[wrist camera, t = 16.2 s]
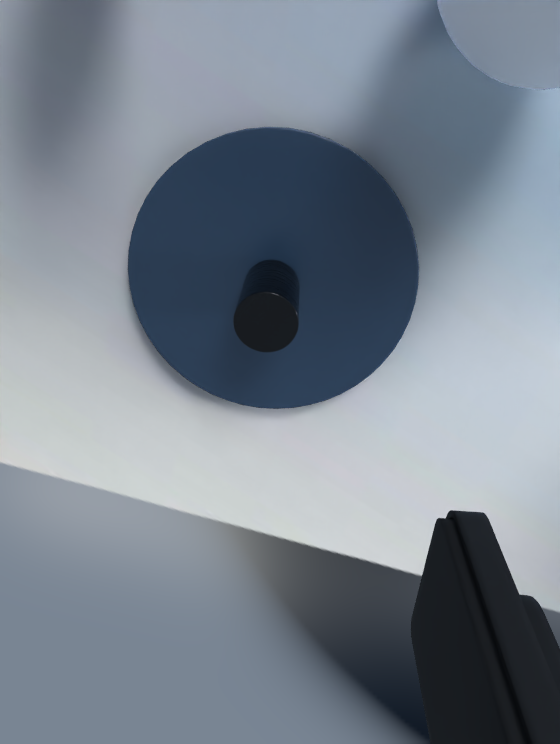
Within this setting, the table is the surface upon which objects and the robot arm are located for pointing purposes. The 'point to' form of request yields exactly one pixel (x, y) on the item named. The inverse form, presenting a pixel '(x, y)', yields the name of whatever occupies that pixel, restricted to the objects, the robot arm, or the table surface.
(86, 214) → the table surface
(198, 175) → the saucepan lid
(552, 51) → the white egg-shaped bulb
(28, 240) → the table surface
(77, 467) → the table surface
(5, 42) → the table surface
